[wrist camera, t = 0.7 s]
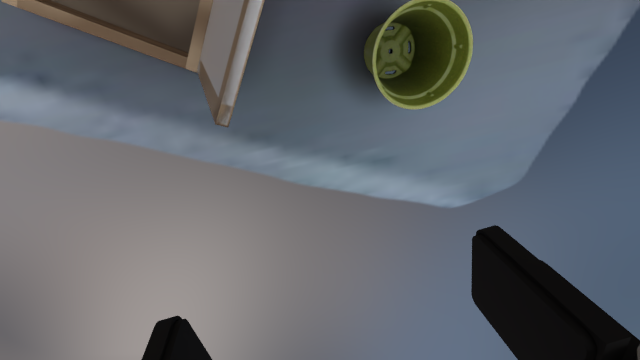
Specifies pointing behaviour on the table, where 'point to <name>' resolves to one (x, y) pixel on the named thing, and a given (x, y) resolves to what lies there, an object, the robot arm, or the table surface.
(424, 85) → the plant pot
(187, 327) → the robot arm
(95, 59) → the table surface
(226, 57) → the lid
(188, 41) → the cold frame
